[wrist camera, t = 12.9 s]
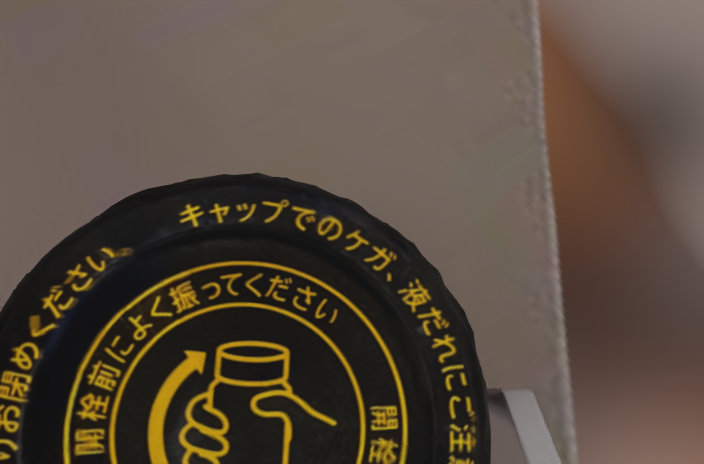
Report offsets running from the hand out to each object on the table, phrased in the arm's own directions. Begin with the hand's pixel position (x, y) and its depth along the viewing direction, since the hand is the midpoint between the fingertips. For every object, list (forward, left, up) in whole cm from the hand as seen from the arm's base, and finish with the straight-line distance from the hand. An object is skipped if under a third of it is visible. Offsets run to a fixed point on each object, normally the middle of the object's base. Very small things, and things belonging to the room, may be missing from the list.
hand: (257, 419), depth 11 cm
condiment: (0, +1, -7) cm, 7 cm away
